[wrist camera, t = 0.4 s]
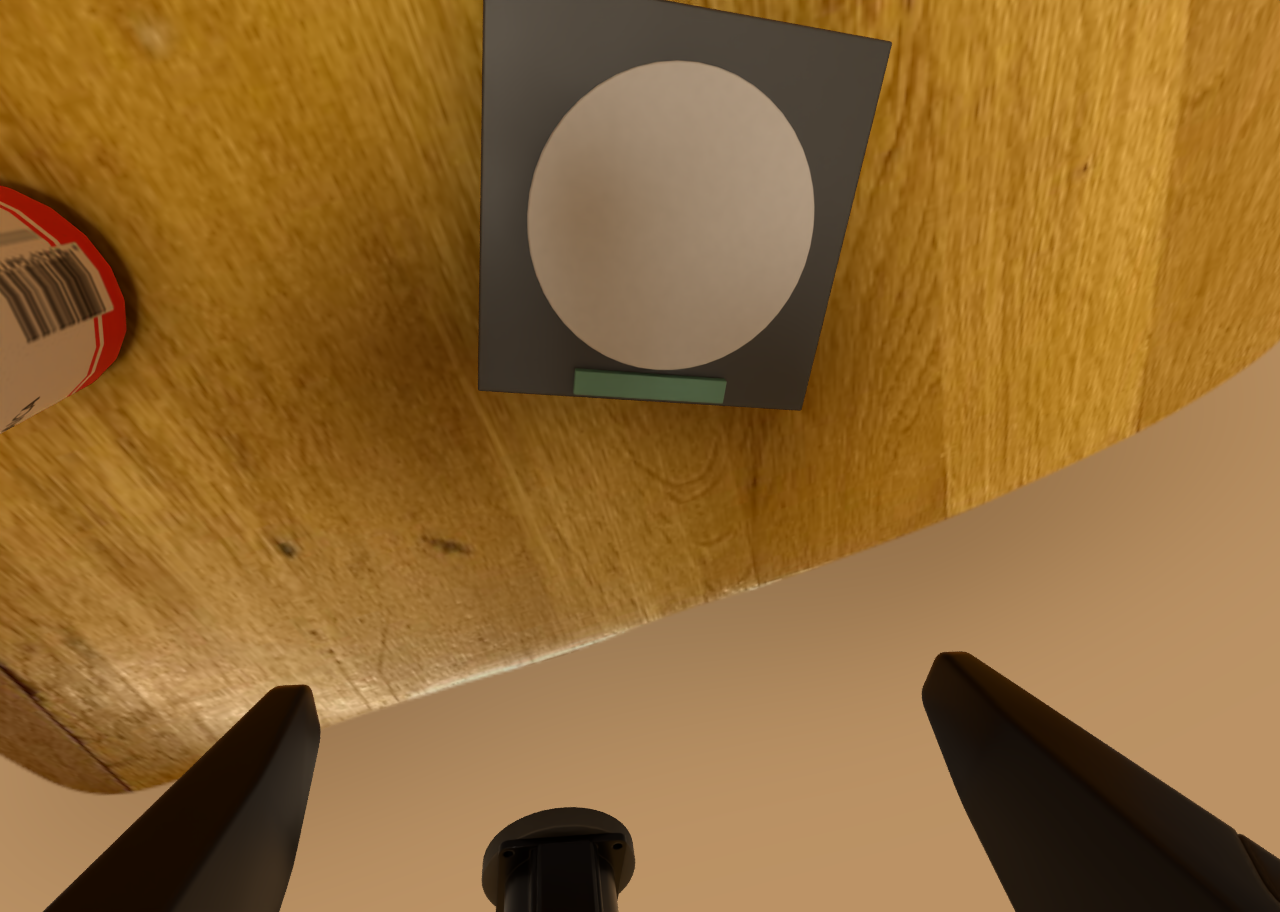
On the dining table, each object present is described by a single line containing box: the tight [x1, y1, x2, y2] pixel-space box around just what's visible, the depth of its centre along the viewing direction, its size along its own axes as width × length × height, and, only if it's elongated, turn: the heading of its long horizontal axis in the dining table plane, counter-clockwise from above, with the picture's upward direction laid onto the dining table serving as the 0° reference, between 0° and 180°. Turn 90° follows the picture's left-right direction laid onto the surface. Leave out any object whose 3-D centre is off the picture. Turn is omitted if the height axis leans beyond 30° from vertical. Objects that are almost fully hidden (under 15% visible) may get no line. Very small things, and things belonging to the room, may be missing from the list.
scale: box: [478, 0, 892, 410], centre depth 20 cm, size 11×11×3 cm
